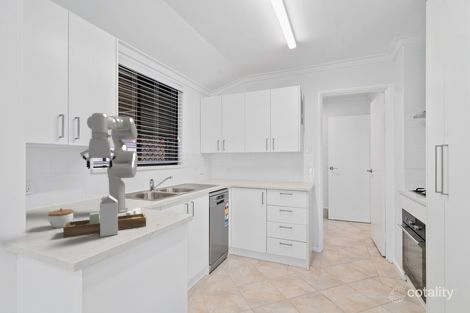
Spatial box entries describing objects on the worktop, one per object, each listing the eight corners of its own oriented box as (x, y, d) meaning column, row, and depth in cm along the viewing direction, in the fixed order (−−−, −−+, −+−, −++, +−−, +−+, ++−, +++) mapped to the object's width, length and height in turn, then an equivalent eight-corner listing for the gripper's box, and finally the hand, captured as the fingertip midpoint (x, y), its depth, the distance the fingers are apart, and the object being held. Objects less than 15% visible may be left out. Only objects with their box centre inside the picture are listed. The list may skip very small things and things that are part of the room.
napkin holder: (139, 215, 143) (139, 206, 143) (149, 218, 136) (149, 208, 136) (114, 220, 131) (114, 210, 131) (124, 224, 124) (124, 213, 124)
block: (90, 222, 115) (90, 213, 115) (99, 221, 117) (99, 212, 117) (89, 224, 112) (89, 214, 112) (98, 223, 113) (98, 213, 113)
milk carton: (117, 230, 112) (117, 191, 112) (117, 234, 106) (117, 193, 106) (101, 232, 109) (100, 193, 109) (100, 237, 103) (99, 195, 103)
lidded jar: (53, 224, 124) (53, 207, 124) (76, 222, 127) (76, 205, 127) (44, 230, 114) (44, 211, 114) (70, 227, 117) (69, 209, 117)
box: (68, 231, 112) (68, 222, 112) (144, 221, 127) (144, 213, 127) (63, 237, 103) (63, 227, 103) (146, 226, 118) (145, 217, 118)
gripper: (117, 138, 129) (118, 168, 128) (81, 136, 121) (81, 169, 120) (118, 136, 122) (118, 168, 122) (79, 135, 114) (79, 169, 114)
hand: (99, 168), depth 121 cm, fingers open, 9 cm apart
